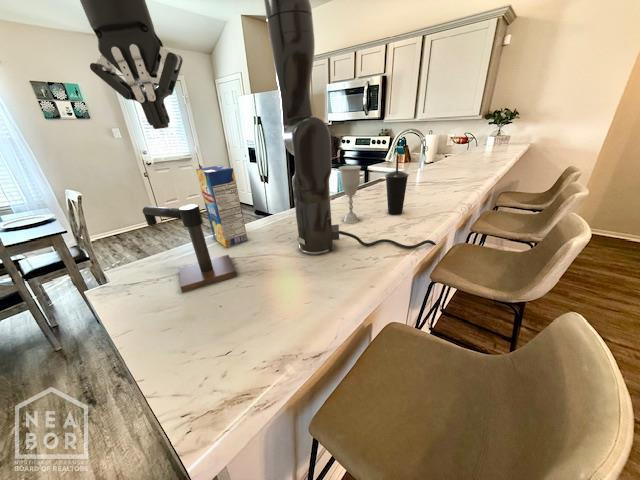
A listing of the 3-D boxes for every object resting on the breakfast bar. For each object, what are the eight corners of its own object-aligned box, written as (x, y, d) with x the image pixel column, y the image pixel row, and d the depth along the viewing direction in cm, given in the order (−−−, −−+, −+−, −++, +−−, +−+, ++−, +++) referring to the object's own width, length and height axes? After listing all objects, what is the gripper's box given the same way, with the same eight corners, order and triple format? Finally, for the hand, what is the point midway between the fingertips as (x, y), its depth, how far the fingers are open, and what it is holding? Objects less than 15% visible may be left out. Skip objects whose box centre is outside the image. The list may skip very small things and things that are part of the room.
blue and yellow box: (226, 247, 78) (208, 172, 69) (213, 237, 86) (195, 169, 77) (248, 240, 82) (233, 168, 73) (233, 231, 90) (218, 165, 80)
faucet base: (229, 259, 71) (218, 213, 66) (237, 276, 63) (225, 225, 57) (181, 272, 66) (164, 224, 61) (182, 292, 58) (163, 239, 53)
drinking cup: (383, 210, 98) (384, 154, 90) (404, 209, 97) (407, 153, 89) (384, 217, 92) (386, 157, 83) (407, 216, 90) (411, 156, 82)
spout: (208, 226, 60) (202, 204, 58) (194, 232, 57) (188, 210, 55) (156, 221, 67) (150, 201, 65) (142, 226, 63) (134, 206, 61)
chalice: (364, 218, 92) (364, 165, 84) (356, 225, 87) (355, 169, 79) (346, 216, 95) (344, 165, 88) (337, 222, 90) (334, 169, 83)
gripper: (171, -11, 38) (209, 121, 46) (80, 1, 38) (134, 130, 46) (142, -34, 31) (193, 125, 39) (32, -19, 31) (106, 136, 39)
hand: (161, 128), depth 43 cm, fingers closed
